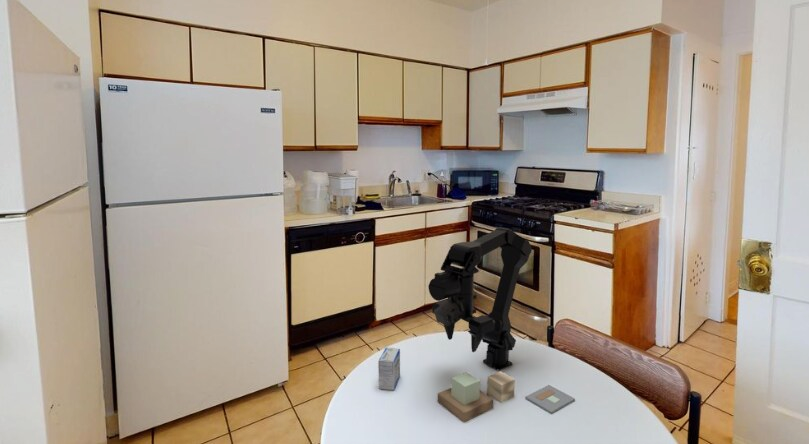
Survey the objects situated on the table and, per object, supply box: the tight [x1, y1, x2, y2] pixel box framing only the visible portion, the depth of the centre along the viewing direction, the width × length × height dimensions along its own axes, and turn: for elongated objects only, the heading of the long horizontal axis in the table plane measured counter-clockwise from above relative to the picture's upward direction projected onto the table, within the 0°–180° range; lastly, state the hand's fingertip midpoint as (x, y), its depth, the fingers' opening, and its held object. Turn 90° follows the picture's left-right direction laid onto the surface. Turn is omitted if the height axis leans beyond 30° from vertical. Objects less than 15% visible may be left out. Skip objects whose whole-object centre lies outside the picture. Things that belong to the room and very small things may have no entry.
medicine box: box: [377, 347, 401, 391], centre depth 118 cm, size 8×4×9 cm, turn 169°
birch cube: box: [486, 370, 516, 403], centre depth 112 cm, size 5×5×5 cm
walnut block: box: [437, 387, 495, 423], centre depth 108 cm, size 10×10×3 cm
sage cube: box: [450, 371, 481, 405], centre depth 107 cm, size 5×5×5 cm
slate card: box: [524, 384, 576, 415], centre depth 110 cm, size 10×8×1 cm
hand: (461, 345), depth 115 cm, fingers open, 9 cm apart
